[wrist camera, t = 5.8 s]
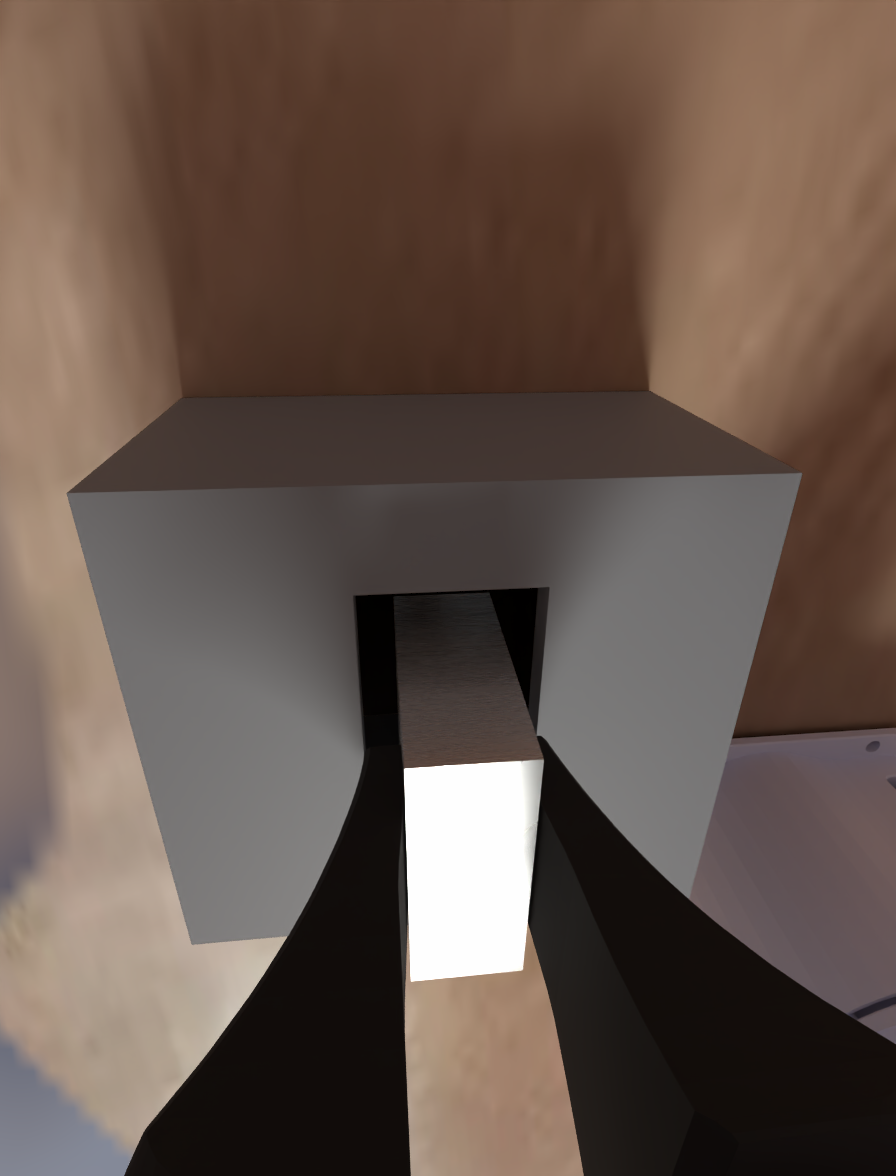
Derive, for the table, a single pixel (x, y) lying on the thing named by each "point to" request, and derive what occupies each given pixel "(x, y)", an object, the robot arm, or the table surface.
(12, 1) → the table surface
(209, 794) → the coin box
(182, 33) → the table surface
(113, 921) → the table surface
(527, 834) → the block
